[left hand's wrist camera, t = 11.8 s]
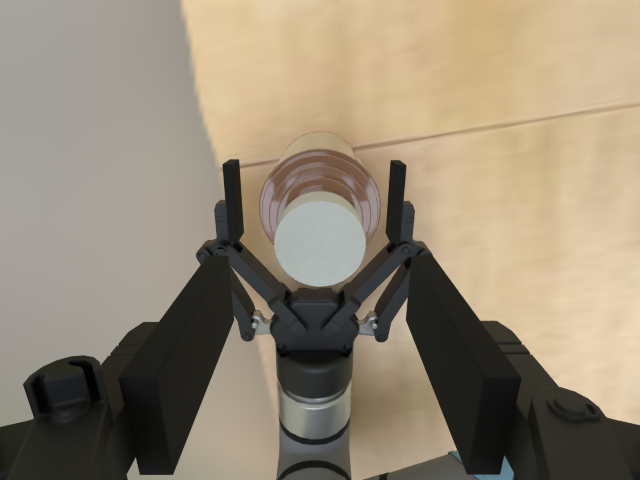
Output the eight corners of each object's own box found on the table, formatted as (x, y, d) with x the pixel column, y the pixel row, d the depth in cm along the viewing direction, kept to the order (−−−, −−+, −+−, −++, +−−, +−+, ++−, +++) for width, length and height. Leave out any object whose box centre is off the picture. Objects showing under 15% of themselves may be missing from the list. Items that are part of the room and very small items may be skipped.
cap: (356, 272, 21) (359, 290, 19) (276, 266, 21) (271, 283, 19) (366, 194, 20) (371, 205, 18) (280, 187, 20) (276, 196, 18)
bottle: (354, 214, 39) (386, 317, 20) (278, 207, 39) (239, 305, 20) (364, 135, 36) (411, 171, 18) (282, 128, 36) (242, 156, 17)
